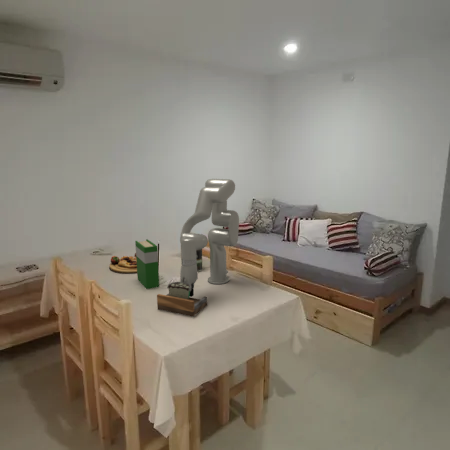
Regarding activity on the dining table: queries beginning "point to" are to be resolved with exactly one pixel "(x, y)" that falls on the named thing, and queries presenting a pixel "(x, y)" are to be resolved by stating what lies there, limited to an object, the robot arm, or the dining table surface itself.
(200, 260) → the coffee can
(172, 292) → the food container
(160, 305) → the tray
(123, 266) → the wooden plate with food
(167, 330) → the dining table surface
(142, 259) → the hardback book
